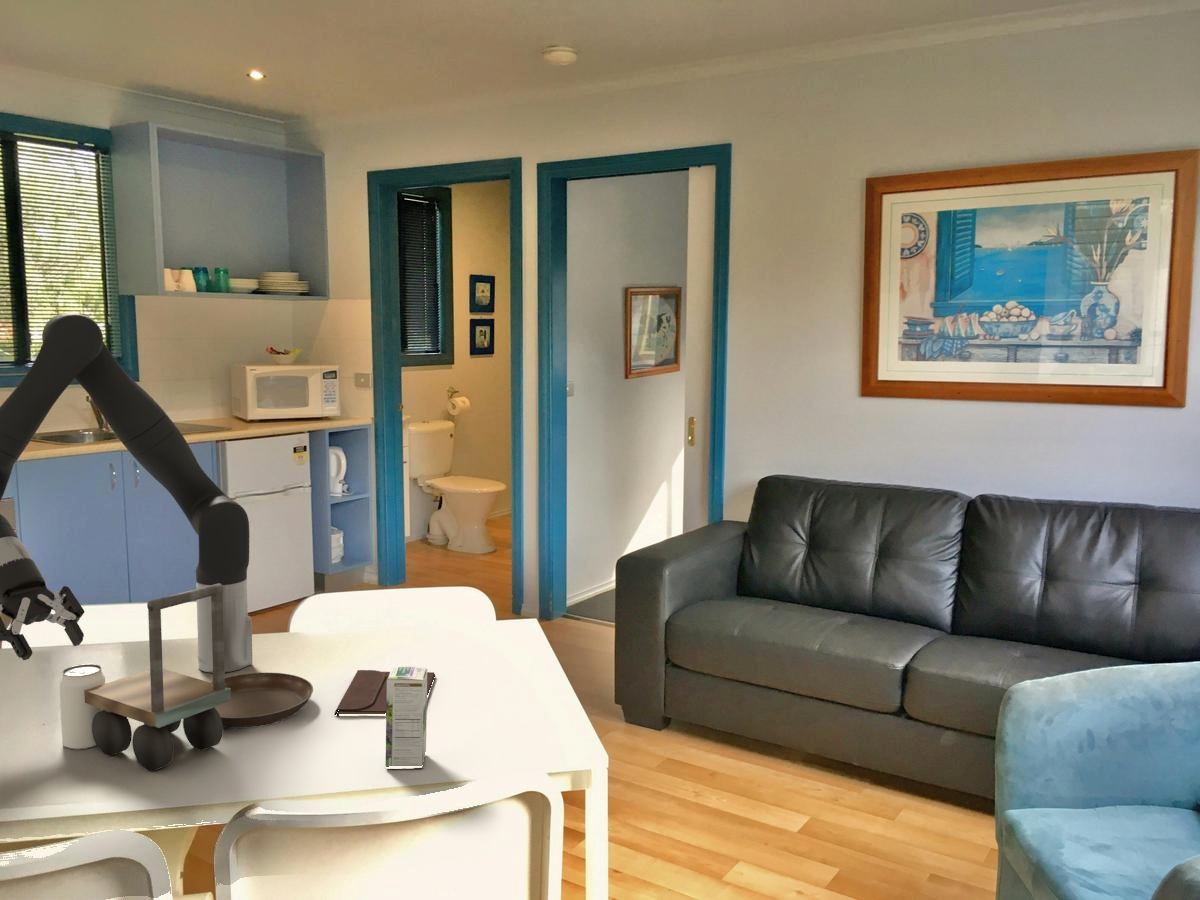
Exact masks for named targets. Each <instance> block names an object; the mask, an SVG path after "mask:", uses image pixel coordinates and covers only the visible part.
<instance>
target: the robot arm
mask: <svg viewBox="0 0 1200 900" xmlns="http://www.w3.org/2000/svg"><path fill="white" fill-rule="evenodd" d="M41 334H42V335H41V337H42V339H41V340H42V345H41V346H40V349H39V351H38V354H37V355H36V358H35V360H34V362H33V363H32V365H31V366H30V368H29V369H28V371H27V373H26V374H25V376H24V377H23V379H22V380H21V381H20V383H19V384H18V385H17V386H16V387H15V389H14V390H13V391H12V392H11V394H9V396H8V397H7V398H6V399H5V401H3V402H2V404H1V405H0V502H1V501H2V499H3V496H4V494H5V491H6V489H7V486H8V483H9V480H10V477H11V475H12V471H13V468H14V466H15V463H16V462H17V461H18V460H19V458H20V457H21V455H22V454H23V452H25V449H26V448H27V446H28V445H29V443H30V442H31V440H32V439H33V437H34V436H35V435H36V433H37V431H38V430H39V428H40V426H41V424H42V423H43V421H44V420H45V419H46V417H47V415H48V414H49V412H50V411H51V409H52V408H53V406H54V405H55V403H56V402H57V400H59V398H60V396H61V395H62V394H63V392H65V390H66V389H67V388H68V387H69V385H70V384H71V383H72V382H73V381H74V380H76V382H77V383H78V384H79V385H80V386H81V387H82V388H83V390H84V391H85V392H86V393H87V394H88V395H89V397H90V398H91V400H92V401H93V403H94V404H95V406H96V407H97V409H98V411H99V412H100V414H101V416H102V418H104V421H106V423H107V424H108V426H109V427H110V428H111V430H112V431H113V432H114V434H115V436H116V437H117V438H118V440H119V441H120V442H121V443H122V445H123V446H124V447H125V448H126V449H127V451H128V452H129V453H130V454H131V455H132V457H133V458H134V459H135V460H136V461H137V462H138V463H139V464H140V465H141V466H142V468H143V469H145V471H147V473H149V475H151V477H152V478H154V479H155V480H156V481H157V482H158V483H159V484H160V485H161V486H162V487H164V488H165V490H166V491H167V492H168V493H169V494H170V496H172V497H173V499H174V500H175V502H176V503H177V505H178V507H179V508H180V509H181V510H182V512H183V514H184V515H185V517H186V518H187V520H188V522H189V523H190V525H191V526H192V528H193V530H194V532H195V533H196V535H198V563H197V566H196V569H195V579H196V581H195V586H196V587H195V588H196V589H199V588H203V587H207V586H211V585H215V584H218V583H220V584H221V585H222V586H223V632H224V673H229V672H230V673H231V672H235V671H238V670H241V669H244V668H245V667H248V666H253V623H252V617H251V616H249V614H248V611H249V610H248V606H249V605H248V568H249V565H250V521H249V517H248V513H247V511H246V510H245V509H244V507H243V506H241V505H240V504H239V503H238V502H237V501H235V500H234V499H232V498H230V497H229V496H228V495H227V494H226V493H224V492H223V491H222V489H220V488H219V486H218V485H216V483H215V482H214V481H213V480H212V479H211V478H210V476H208V475H207V474H206V473H205V471H204V469H202V466H201V465H200V464H199V462H198V461H197V459H196V456H195V455H194V453H193V451H192V449H191V447H190V445H189V443H188V442H187V440H186V439H185V437H184V435H183V434H182V433H181V431H180V429H179V428H178V427H177V425H176V424H175V423H174V422H173V420H172V419H171V418H170V417H169V415H168V414H167V413H166V411H164V409H163V408H162V407H161V406H160V405H159V403H158V402H157V401H155V400H154V398H153V397H152V396H151V395H150V394H149V393H148V392H147V391H145V390H144V388H142V387H141V386H140V385H139V384H138V383H137V382H136V381H135V380H134V379H132V377H130V376H129V375H128V373H127V372H126V371H125V370H124V369H123V368H122V366H120V364H119V362H118V361H117V360H116V358H115V357H114V356H113V354H112V352H111V351H110V349H109V348H108V347H107V345H106V343H105V342H104V335H103V331H102V330H101V328H100V326H99V325H98V323H97V322H96V321H95V320H93V319H92V318H91V317H89V316H87V315H85V314H81V313H78V312H77V313H76V312H63V313H60V314H56V315H54V316H53V317H51V318H50V319H49V320H48V321H47V322H46V324H45V325H44V327H43V330H42V333H41ZM52 611H54V613H52ZM2 614H3V615H4V616H6V617H8V618H10V620H11V621H10V623H9V628H8V629H7V627H6V626H5V623H4V621H3V619H2V617H1V616H2ZM84 614H85V610H84V608H83V606H82V604H81V603H80V602H79V601H78V599H77V598H76V596H75V594H74V593H73V592H72V590H71V588H69V587H68V586H66V585H63V587H62V588H61V589H60V590H56V591H54V592H53V591H51V590H50V589H49V588H48V586H47V584H46V580H45V579H44V576H43V575H42V574H41V571H40V570H39V567H38V566H37V565H36V563H35V561H34V559H33V558H32V556H31V554H30V553H29V551H28V549H27V548H26V546H25V545H24V544H23V543H22V541H21V540H20V538H19V537H18V535H17V533H16V532H15V530H14V528H13V527H12V525H11V523H10V521H9V520H8V519H7V518H6V517H5V516H4V515H3V514H1V513H0V643H1V642H7V643H9V644H10V645H11V647H12V649H13V651H14V653H15V654H16V656H17V657H18V659H22V660H23V661H28V660H29V659H31V656H32V655H33V650H32V648H31V647H30V644H29V643H28V641H27V639H26V637H25V636H24V634H23V633H21V629H22V628H23V627H22V626H23V625H25V626H29V625H32V624H33V623H41V622H44V621H45V620H46V621H47V622H49V623H52V624H58V625H60V626H61V627H63V628H64V631H65V633H66V635H67V636H68V639H69V641H71V643H72V646H74V647H77V646H80V644H81V643H82V642H83V641H84V637H85V635H84V632H83V630H82V628H81V627H80V625H79V624H78V623H79V621H80V619H81V618H82V616H83V615H84ZM196 617H197V622H196V623H197V652H198V653H197V655H198V656H197V659H198V669H199V670H200V671H202V672H204V673H205V672H206V673H212V674H213V654H212V615H211V596H209V597H206V598H202V599H198V600H196ZM20 633H21V634H20Z"/></svg>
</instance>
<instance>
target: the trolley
mask: <svg viewBox="0 0 1200 900" xmlns="http://www.w3.org/2000/svg"><path fill="white" fill-rule="evenodd" d="M209 596H211V615H212V654H213V673H212V677H213V678H212V680H213V681H212V682H213V683H211V682H209V681H207V680H202V679H199V678H197V677H196V678H195V677H192V676H189V675H186V674H183V673H178V672H175V671H172V670H170V669H169V670H168V669H165V668H164V667H163V640H162V639H163V638H162V611H161V610H164V609H166V608H167V609H168V608H171V607H175V606H178V605H182V604H185V603H186V604H187V603H190V602H194V601H197V600H198V599H202V598H206V597H209ZM147 614H148V636H149V637H148V642H149V643H148V644H149V645H148V647H149V669H147V670H143V671H141V672H138V673H135V674H132V675H129V676H125V677H122V678H119V679H116V680H113V681H109V682H105V684H103V685H100V686H97V687H93V688H90V689H87V690H84V696H85V703H87V704H90V705H93V706H96V707H99V708H102V709H103V711H100V712H98V713H96V715H95V716H94V718H93V721H92V733H93V738H94V740H95V743H96V745H97V746H96V748H98V749H99V751H100V752H101V753H103V754H104V755H105V756H114V755H118V754H119V753H122V752H124V751H126V750H127V749H129V747H130V745H132V749H133V753H134V756H135V759H136V760H137V762H138V763H139V765H140V766H141V767H142V768H143V769H144V770H145V771H149V772H155V771H156V770H159V769H162V768H164V767H167V766H168V765H170V764H171V762H172V760H173V758H174V754H175V748H174V746H175V745H174V741H173V738H172V734H171V733H174V732H176V731H178V729H179V728H180V726H181V723H182V728H183V733H184V735H185V738H186V739H187V741H188V743H189V744H190V746H192V747H193V748H194V749H196V750H198V751H205V750H207V749H210V748H212V747H215V746H217V745H219V744H220V742H221V741H222V738H223V736H224V727H223V724H222V720H221V717H220V715H219V713H218V711H217V710H216V709H215V708H214V707H216V706H219V705H221V704H224V703H227V702H229V701H231V689H230V688H227V687H225V678H226V677H225V673H226V672H224V632H223V586H222V585H221V584H220V583H218V584H215V585H211V586H207V587H203V588H199V589H192V590H188V591H187V590H186V591H183V592H180V593H176V594H171V595H168V596H163V597H159V598H156V599H151V600H148V601H147ZM129 719H131V720H134V721H137V722H140V723H143V724H142V725H139V726H137V728H136V729H135V730H134V732H133V734H132V726H131V724H130V721H129ZM131 743H132V744H131Z"/></svg>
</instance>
